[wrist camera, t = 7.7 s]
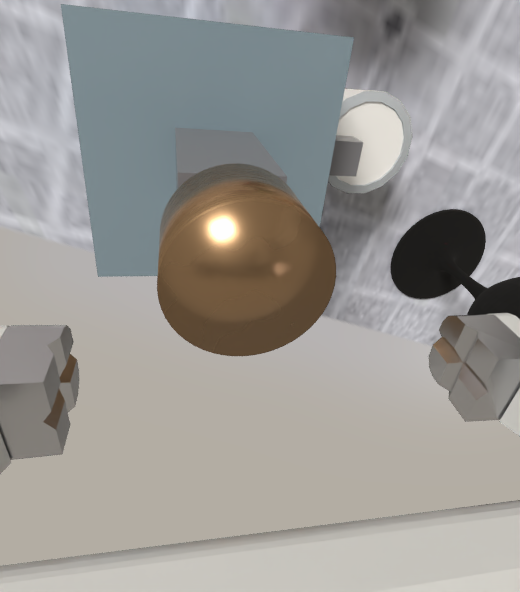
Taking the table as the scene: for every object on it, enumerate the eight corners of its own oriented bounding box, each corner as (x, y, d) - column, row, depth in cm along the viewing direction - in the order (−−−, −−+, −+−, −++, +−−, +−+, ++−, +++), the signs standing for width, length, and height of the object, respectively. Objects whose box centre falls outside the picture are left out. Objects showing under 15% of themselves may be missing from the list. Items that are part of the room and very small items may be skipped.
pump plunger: (266, 120, 19) (352, 203, 10) (257, 217, 22) (319, 352, 13) (160, 113, 18) (152, 197, 9) (164, 215, 21) (160, 360, 12)
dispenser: (321, 37, 30) (524, 52, 13) (298, 195, 37) (413, 347, 19) (106, 13, 27) (-3, -9, 10) (122, 190, 34) (72, 364, 16)
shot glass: (334, 182, 37) (365, 212, 31) (275, 136, 33) (297, 159, 28) (388, 114, 34) (432, 132, 28) (329, 58, 31) (366, 65, 25)
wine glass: (381, 301, 45) (503, 459, 29) (401, 211, 39) (567, 343, 23) (467, 293, 47) (628, 438, 30) (497, 205, 41) (716, 326, 25)
